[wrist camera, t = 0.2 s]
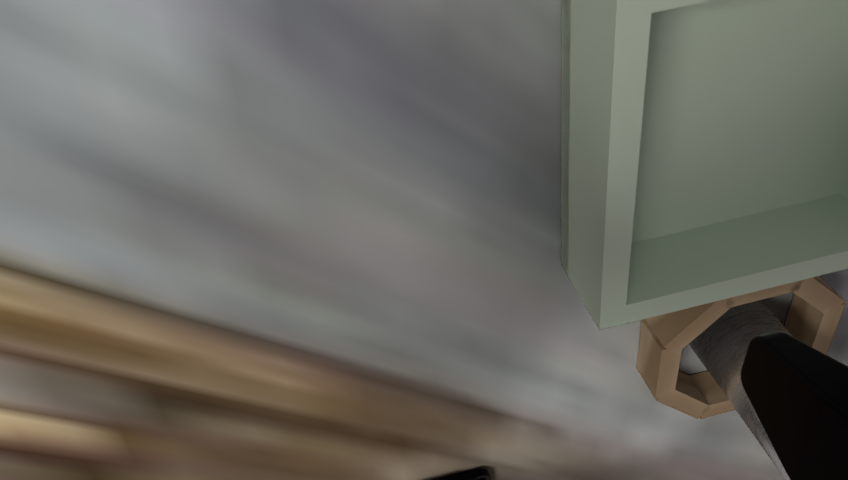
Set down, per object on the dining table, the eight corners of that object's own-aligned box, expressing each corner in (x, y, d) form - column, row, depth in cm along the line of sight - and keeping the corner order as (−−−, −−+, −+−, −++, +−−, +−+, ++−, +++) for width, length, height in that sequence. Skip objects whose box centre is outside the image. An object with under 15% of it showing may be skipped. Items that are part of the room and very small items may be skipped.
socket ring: (789, 361, 36) (813, 389, 35) (632, 401, 35) (650, 432, 34) (831, 232, 30) (862, 259, 29) (646, 277, 30) (668, 307, 28)
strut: (754, 340, 34) (901, 518, 27) (682, 358, 34) (809, 544, 26) (769, 284, 32) (936, 462, 24) (691, 303, 32) (835, 490, 24)
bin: (842, 197, 29) (913, 252, 26) (561, 264, 28) (599, 330, 25) (951, -134, 21) (1071, -111, 18) (561, -57, 20) (618, -18, 17)
